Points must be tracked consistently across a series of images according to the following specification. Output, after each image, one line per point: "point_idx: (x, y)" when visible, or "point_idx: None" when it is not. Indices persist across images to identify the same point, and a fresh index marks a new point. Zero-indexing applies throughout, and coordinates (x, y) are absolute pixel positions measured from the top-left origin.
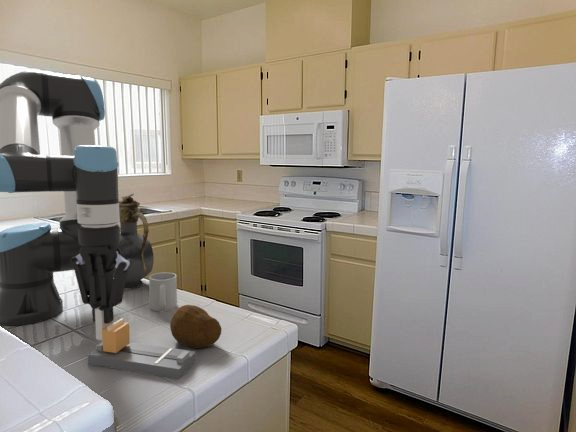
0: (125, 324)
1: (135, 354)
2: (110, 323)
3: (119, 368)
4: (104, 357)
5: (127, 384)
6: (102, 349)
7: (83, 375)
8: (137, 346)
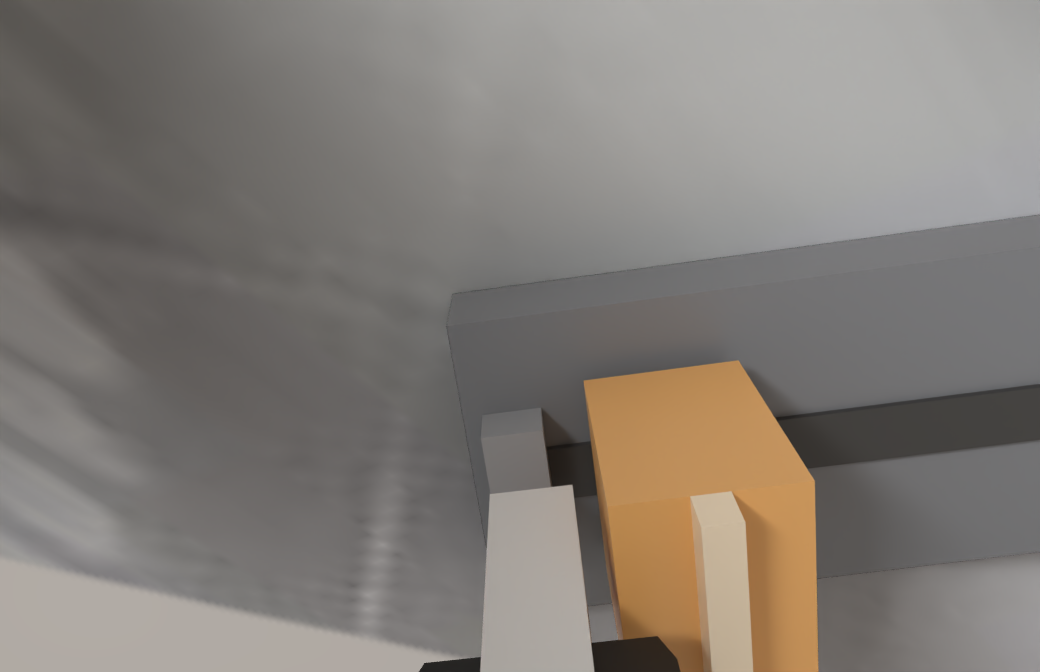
0: (804, 537)
1: (904, 463)
2: (583, 579)
3: None
4: None
5: (975, 637)
6: None
7: None
8: (825, 337)
